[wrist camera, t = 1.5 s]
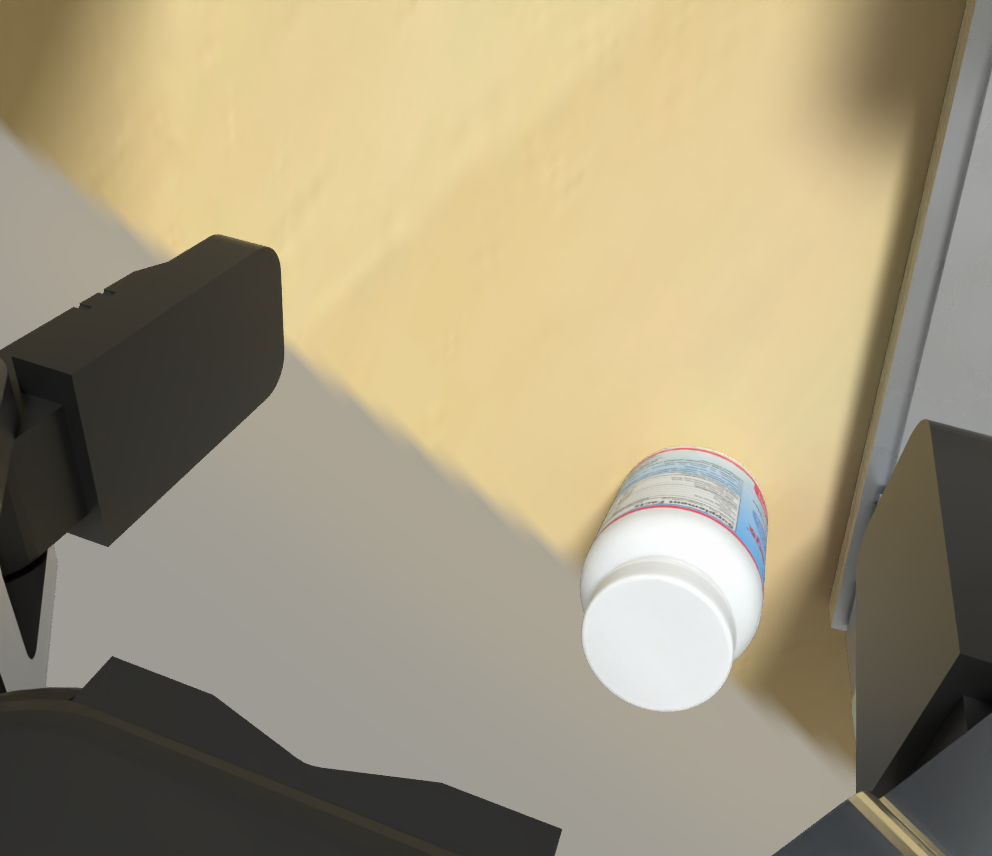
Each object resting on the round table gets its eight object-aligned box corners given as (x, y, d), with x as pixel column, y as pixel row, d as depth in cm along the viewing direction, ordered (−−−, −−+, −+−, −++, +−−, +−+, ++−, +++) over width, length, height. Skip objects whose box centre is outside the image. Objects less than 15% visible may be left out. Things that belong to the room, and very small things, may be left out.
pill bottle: (742, 594, 37) (724, 764, 26) (604, 546, 38) (536, 691, 28) (789, 466, 34) (790, 598, 24) (641, 420, 36) (583, 527, 26)
